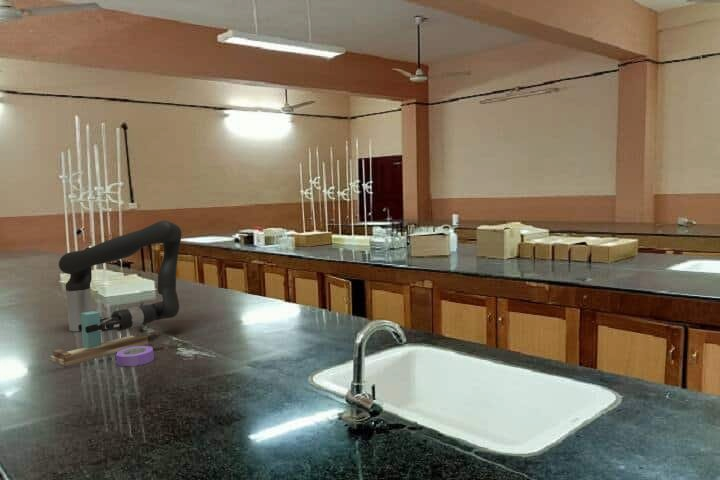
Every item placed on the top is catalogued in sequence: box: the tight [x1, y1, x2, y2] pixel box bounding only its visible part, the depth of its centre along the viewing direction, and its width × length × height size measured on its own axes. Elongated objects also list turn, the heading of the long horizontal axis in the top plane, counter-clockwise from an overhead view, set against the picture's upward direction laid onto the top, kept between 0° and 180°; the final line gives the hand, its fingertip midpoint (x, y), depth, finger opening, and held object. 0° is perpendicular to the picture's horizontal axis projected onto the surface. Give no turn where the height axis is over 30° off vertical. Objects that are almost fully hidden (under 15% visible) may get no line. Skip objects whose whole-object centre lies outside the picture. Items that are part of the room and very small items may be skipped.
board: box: [49, 335, 149, 367], centre depth 195 cm, size 12×30×4 cm, turn 143°
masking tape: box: [115, 345, 155, 367], centre depth 184 cm, size 12×12×4 cm
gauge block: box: [81, 310, 102, 348], centre depth 192 cm, size 4×4×12 cm
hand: (82, 329), depth 190 cm, fingers closed on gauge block, 4 cm apart
